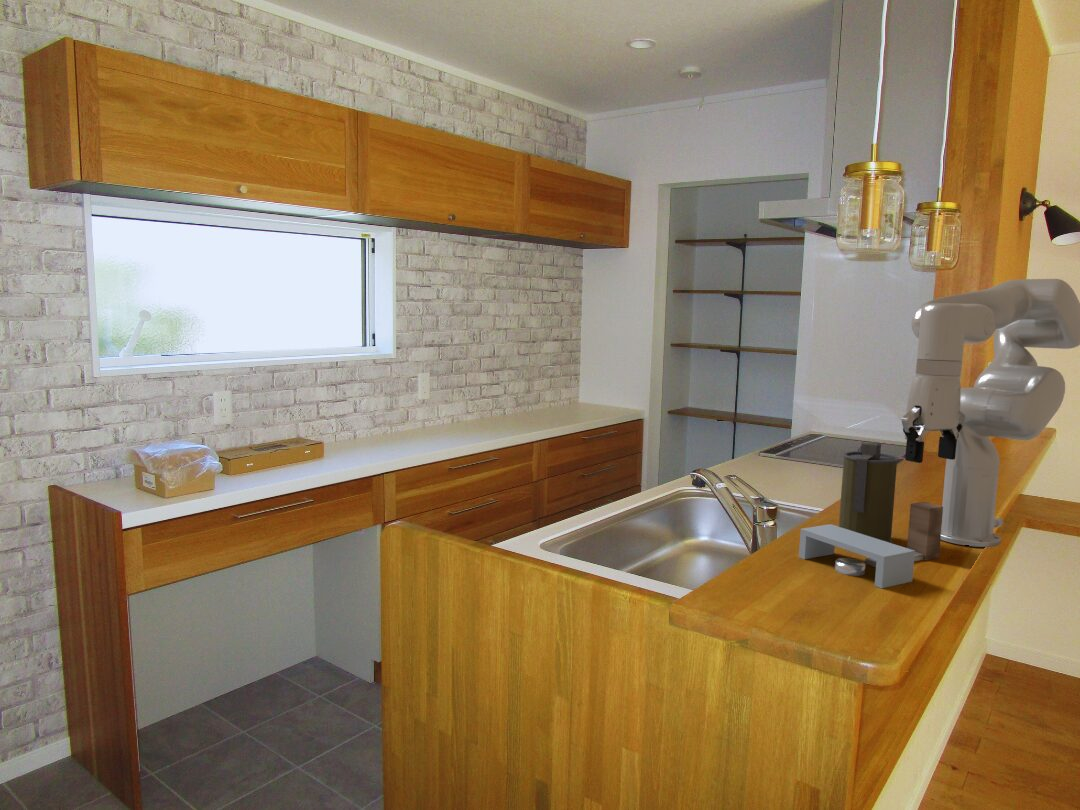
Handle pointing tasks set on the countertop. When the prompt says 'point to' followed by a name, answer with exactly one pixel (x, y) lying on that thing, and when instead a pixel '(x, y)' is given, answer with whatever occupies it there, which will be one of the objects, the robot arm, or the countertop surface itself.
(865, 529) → the canister
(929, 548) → the pusher
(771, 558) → the countertop surface
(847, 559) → the token
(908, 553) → the shelf
